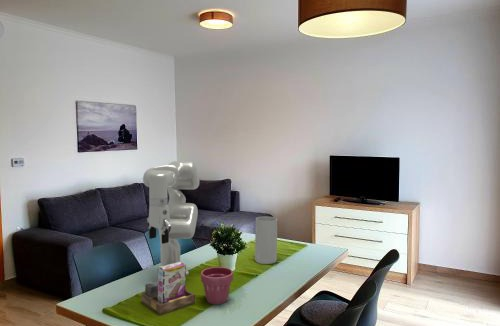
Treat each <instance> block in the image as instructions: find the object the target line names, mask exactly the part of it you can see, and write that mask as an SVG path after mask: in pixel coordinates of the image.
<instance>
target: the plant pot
mask: <svg viewBox="0 0 500 326" xmlns="http://www.w3.org/2000/svg"><path fill="white" fill-rule="evenodd" d="M233 271H234V270H232V269H231V268H229V267H224V266H213V267H207V268H205V269H203V270H201V273H200V282H201V283H202V284H203V289H204V295H205V298H206V301H207V302H208V303H209V304H212V305H221V304H223V303H224V304H225V303H226V302H227V301H228V297H229V294H230V293H229V292H230V290H231V289H230V288H231V283H232V282H233V281H234V273H233Z"/></svg>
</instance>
